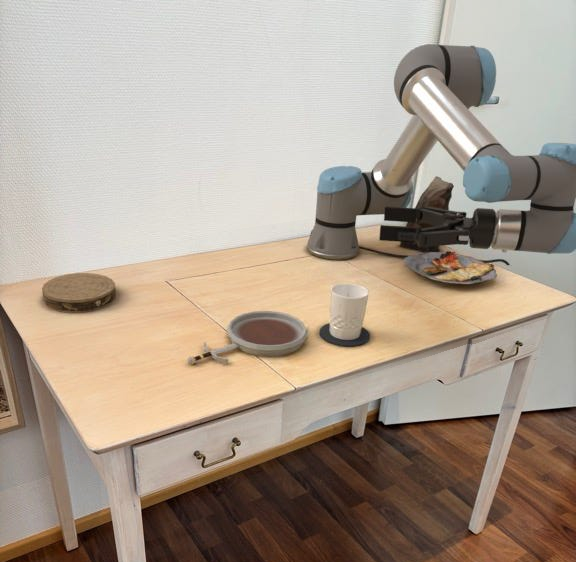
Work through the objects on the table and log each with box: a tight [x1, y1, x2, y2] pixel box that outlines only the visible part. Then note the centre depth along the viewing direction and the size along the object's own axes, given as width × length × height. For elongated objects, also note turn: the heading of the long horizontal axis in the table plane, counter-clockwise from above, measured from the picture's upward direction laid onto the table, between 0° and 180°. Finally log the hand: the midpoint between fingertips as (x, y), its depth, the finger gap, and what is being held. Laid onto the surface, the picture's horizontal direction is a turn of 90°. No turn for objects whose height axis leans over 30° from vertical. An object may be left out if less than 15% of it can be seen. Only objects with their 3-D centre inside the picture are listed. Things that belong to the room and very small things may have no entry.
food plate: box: [403, 250, 498, 285], centre depth 160 cm, size 25×23×4 cm
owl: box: [399, 176, 455, 253], centre depth 174 cm, size 13×13×20 cm
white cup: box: [329, 282, 370, 340], centre depth 123 cm, size 8×8×10 cm
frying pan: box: [187, 310, 308, 365], centre depth 119 cm, size 17×3×28 cm
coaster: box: [319, 322, 371, 348], centre depth 126 cm, size 11×11×1 cm
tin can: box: [41, 272, 117, 314], centre depth 134 cm, size 16×16×3 cm
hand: (382, 222), depth 115 cm, fingers open, 13 cm apart
